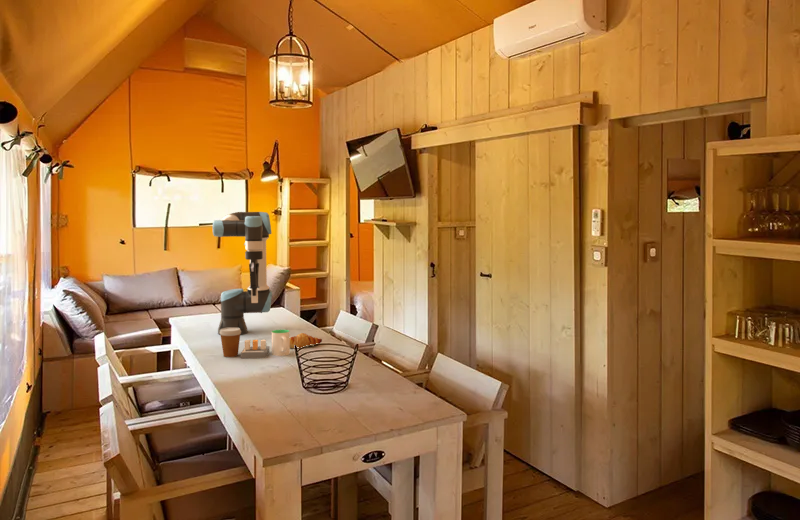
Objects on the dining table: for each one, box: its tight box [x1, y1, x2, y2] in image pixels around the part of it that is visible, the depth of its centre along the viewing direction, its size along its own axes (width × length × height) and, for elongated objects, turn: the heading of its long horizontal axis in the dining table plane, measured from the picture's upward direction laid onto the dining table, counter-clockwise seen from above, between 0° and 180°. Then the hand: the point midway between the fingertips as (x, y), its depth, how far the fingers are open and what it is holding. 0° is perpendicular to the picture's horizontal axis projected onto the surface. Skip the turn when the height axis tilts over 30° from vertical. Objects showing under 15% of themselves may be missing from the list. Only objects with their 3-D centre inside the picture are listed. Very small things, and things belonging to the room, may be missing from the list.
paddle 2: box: [252, 339, 259, 350], centre depth 269 cm, size 3×2×4 cm, turn 6°
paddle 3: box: [260, 339, 267, 350], centre depth 269 cm, size 3×2×4 cm, turn 6°
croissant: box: [290, 332, 323, 349], centre depth 286 cm, size 21×10×8 cm
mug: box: [271, 329, 291, 357], centre depth 270 cm, size 12×8×10 cm
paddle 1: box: [244, 339, 251, 350], centre depth 268 cm, size 3×2×4 cm, turn 6°
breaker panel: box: [240, 345, 270, 359], centre depth 269 cm, size 12×11×3 cm
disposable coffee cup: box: [219, 327, 242, 358], centre depth 267 cm, size 10×10×12 cm
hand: (254, 302), depth 267 cm, fingers closed
